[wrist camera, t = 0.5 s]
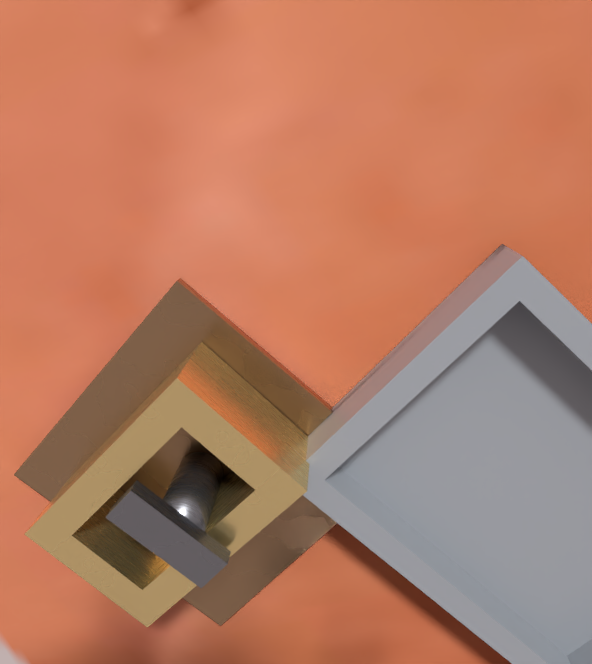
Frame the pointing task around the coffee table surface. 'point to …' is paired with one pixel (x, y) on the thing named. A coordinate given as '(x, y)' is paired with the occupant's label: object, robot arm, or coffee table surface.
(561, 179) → the coffee table surface
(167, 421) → the gold hollow rectangular block
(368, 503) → the tray
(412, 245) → the coffee table surface
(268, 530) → the brown peg base plate
